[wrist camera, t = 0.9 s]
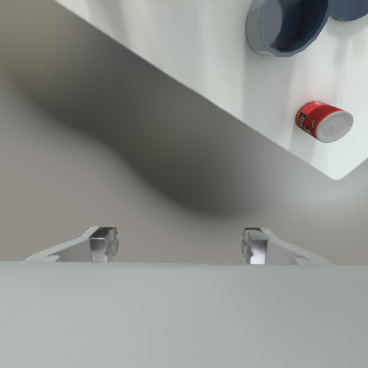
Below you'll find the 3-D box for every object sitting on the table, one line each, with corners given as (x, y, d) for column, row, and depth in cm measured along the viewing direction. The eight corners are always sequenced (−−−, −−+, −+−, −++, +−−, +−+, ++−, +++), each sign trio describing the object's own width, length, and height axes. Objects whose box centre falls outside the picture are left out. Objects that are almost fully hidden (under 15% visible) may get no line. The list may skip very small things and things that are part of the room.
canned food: (290, 112, 52) (313, 125, 43) (320, 94, 49) (351, 103, 40) (298, 133, 56) (321, 149, 47) (326, 117, 53) (356, 130, 44)
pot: (239, 0, 38) (254, -12, 31) (302, -34, 35) (335, -58, 28) (250, 65, 45) (265, 68, 37) (304, 40, 42) (331, 37, 35)
